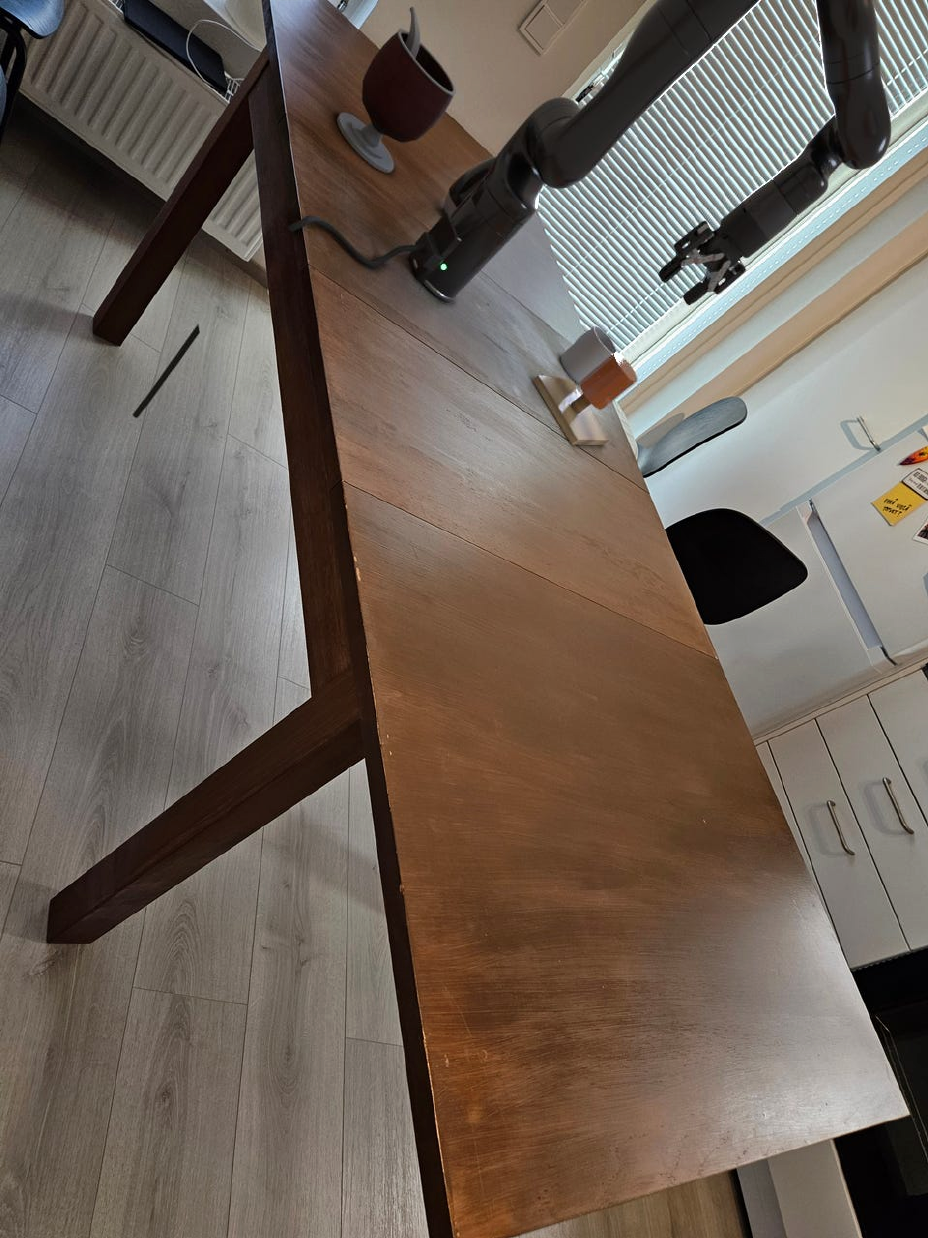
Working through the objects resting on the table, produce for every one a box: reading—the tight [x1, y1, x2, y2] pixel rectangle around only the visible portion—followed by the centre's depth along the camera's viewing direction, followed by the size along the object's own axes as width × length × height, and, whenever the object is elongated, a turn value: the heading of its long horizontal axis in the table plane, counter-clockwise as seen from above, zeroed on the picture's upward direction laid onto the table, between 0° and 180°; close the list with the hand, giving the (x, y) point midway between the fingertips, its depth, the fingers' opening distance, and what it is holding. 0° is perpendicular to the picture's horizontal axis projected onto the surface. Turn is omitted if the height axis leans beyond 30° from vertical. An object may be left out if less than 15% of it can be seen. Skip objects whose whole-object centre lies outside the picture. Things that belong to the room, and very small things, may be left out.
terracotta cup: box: [579, 351, 638, 411], centre depth 144 cm, size 6×6×8 cm
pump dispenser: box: [443, 155, 497, 214], centre depth 152 cm, size 10×10×15 cm
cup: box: [560, 325, 618, 384], centre depth 160 cm, size 7×10×9 cm
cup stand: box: [532, 374, 610, 446], centre depth 145 cm, size 14×14×13 cm
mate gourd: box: [336, 6, 457, 174], centre depth 137 cm, size 16×14×20 cm
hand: (673, 290), depth 135 cm, fingers open, 8 cm apart
